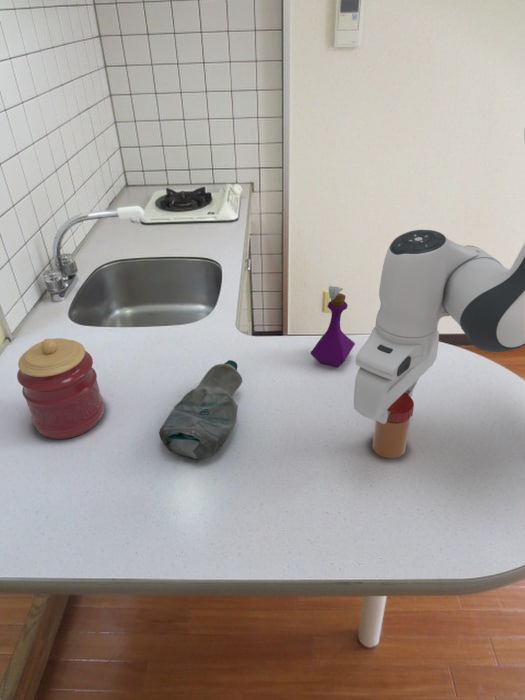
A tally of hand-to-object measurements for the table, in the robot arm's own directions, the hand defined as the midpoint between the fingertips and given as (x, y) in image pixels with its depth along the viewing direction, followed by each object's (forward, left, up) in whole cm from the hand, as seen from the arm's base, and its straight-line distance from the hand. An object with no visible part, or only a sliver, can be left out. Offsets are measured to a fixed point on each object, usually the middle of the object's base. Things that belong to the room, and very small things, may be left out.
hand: (393, 409), depth 87 cm
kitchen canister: (+58, -14, -9) cm, 60 cm away
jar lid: (0, 0, +1) cm, 1 cm away
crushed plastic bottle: (+31, -11, -9) cm, 34 cm away
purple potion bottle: (+5, -27, -9) cm, 29 cm away
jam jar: (0, 0, -9) cm, 9 cm away
